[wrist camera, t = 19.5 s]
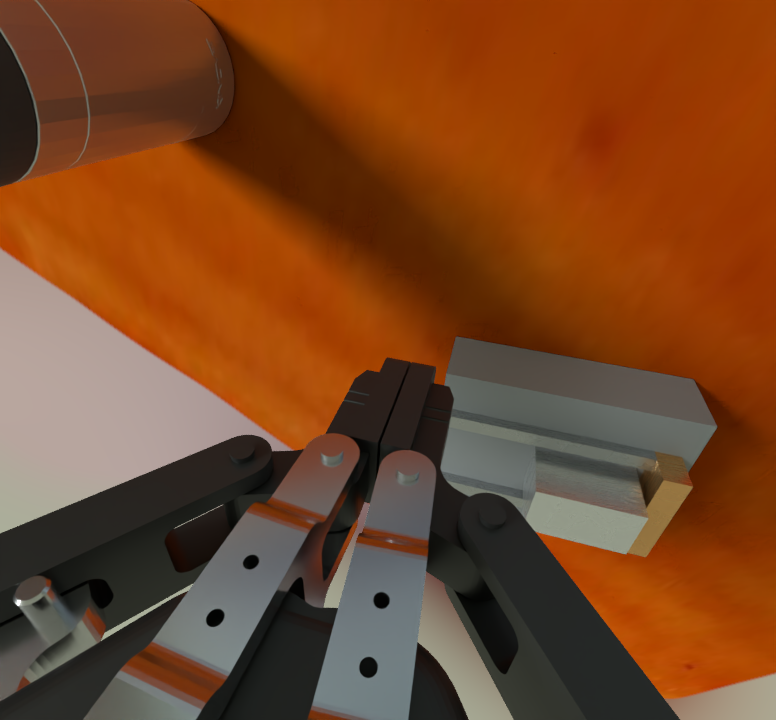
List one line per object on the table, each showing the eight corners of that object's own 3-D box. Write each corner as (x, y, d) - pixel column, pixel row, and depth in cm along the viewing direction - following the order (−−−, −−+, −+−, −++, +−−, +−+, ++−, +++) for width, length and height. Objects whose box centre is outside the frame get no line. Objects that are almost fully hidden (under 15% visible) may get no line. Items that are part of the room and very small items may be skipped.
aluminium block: (523, 481, 41) (522, 528, 37) (535, 445, 38) (535, 491, 34) (616, 503, 39) (626, 554, 35) (635, 467, 37) (648, 518, 33)
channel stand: (435, 457, 50) (420, 525, 43) (456, 336, 41) (440, 396, 34) (625, 501, 47) (642, 582, 40) (693, 379, 38) (732, 456, 30)
